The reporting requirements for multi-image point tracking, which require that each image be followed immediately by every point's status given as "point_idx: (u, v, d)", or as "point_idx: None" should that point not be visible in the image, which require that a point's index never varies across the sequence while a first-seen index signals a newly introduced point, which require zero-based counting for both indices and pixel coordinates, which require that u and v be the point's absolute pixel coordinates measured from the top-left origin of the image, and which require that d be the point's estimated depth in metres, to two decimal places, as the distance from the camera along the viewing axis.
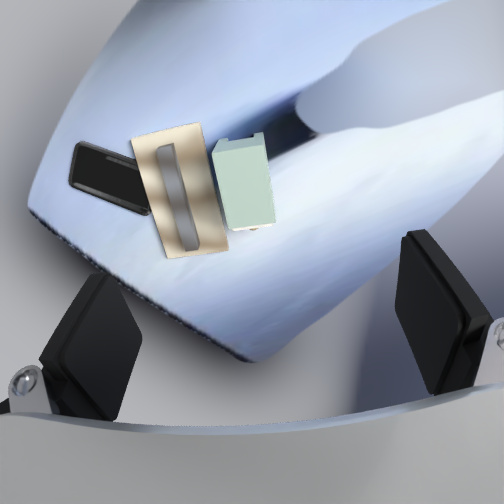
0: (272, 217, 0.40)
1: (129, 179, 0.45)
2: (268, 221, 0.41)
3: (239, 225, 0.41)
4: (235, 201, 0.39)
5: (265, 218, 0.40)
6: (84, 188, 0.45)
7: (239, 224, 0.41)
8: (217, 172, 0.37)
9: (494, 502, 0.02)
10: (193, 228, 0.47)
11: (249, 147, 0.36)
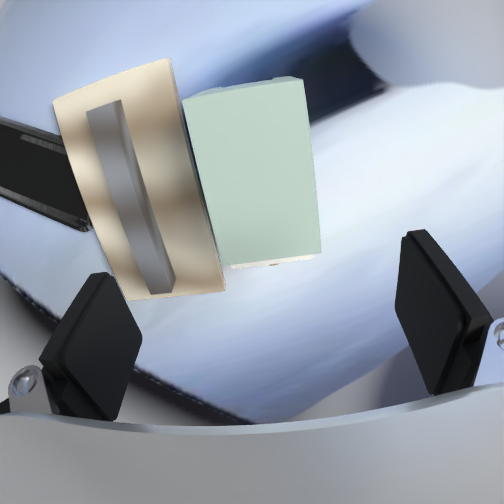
0: (315, 243, 0.19)
1: (55, 171, 0.23)
2: (306, 251, 0.19)
3: (245, 259, 0.20)
4: (237, 208, 0.18)
5: (300, 245, 0.19)
6: None
7: (245, 257, 0.20)
8: (195, 144, 0.16)
9: (494, 502, 0.02)
10: (161, 255, 0.26)
11: (269, 85, 0.14)
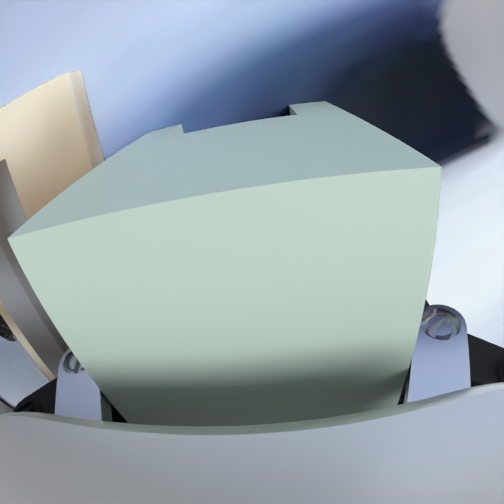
0: None
1: None
2: None
3: None
4: None
5: None
6: None
7: None
8: (80, 352, 0.05)
9: (494, 502, 0.02)
10: None
11: (309, 184, 0.04)
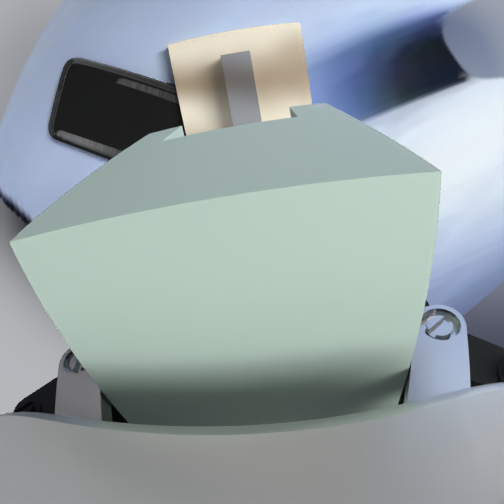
0: None
1: (157, 119, 0.24)
2: None
3: None
4: None
5: None
6: (74, 140, 0.25)
7: None
8: (82, 354, 0.05)
9: (494, 502, 0.02)
10: None
11: (310, 188, 0.04)
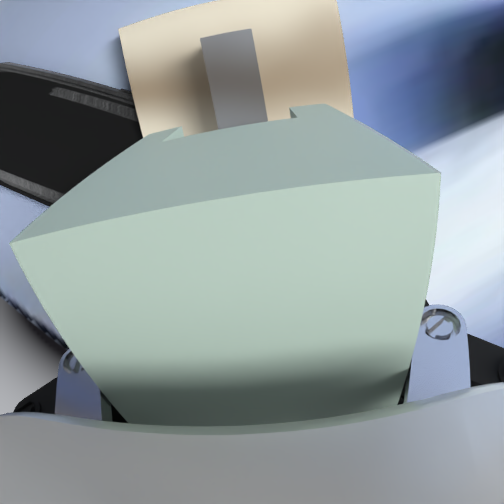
0: None
1: (109, 147, 0.15)
2: None
3: None
4: None
5: None
6: (6, 179, 0.16)
7: None
8: (82, 355, 0.05)
9: (494, 502, 0.02)
10: None
11: (309, 190, 0.04)
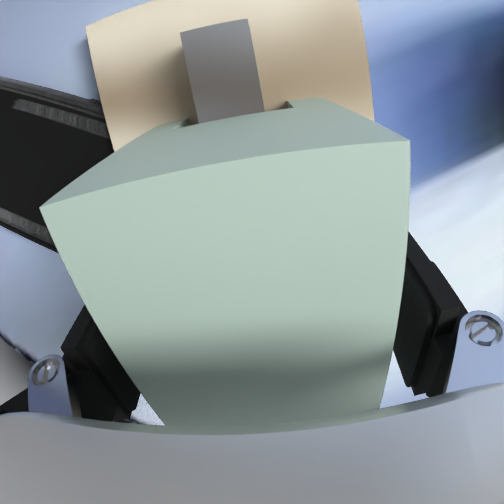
0: None
1: (79, 170, 0.12)
2: None
3: None
4: (215, 418, 0.08)
5: None
6: None
7: None
8: (98, 314, 0.06)
9: (494, 502, 0.02)
10: None
11: (300, 154, 0.04)
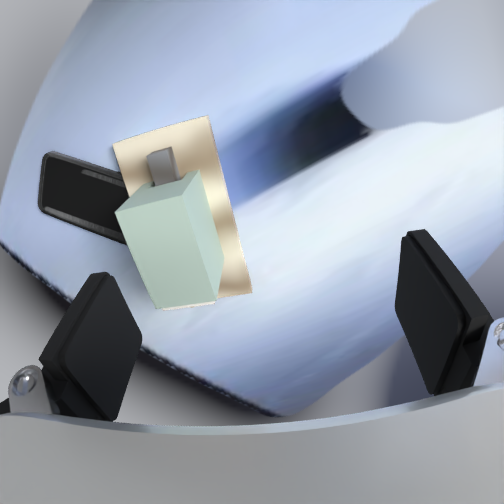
0: (210, 294, 0.28)
1: (113, 200, 0.33)
2: (206, 299, 0.29)
3: (168, 304, 0.29)
4: (157, 274, 0.28)
5: (201, 296, 0.28)
6: (57, 214, 0.33)
7: (168, 303, 0.29)
8: (126, 237, 0.26)
9: (494, 502, 0.02)
10: None
11: (163, 200, 0.24)
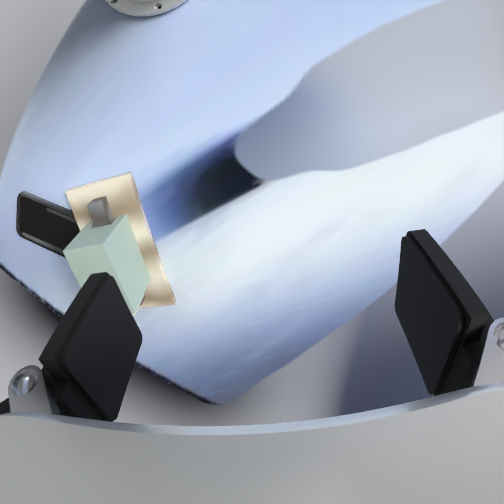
0: (130, 309, 0.37)
1: (69, 231, 0.41)
2: None
3: None
4: None
5: None
6: (31, 238, 0.41)
7: None
8: (72, 268, 0.34)
9: (494, 502, 0.02)
10: None
11: (91, 246, 0.33)
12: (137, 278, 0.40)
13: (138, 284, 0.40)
